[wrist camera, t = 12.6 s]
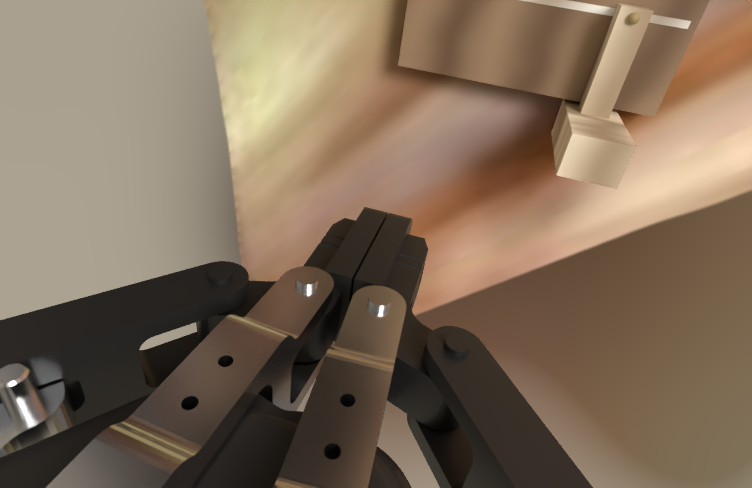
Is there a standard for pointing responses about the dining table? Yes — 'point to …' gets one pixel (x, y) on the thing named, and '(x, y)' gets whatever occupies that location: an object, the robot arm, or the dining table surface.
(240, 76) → the dining table surface
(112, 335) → the robot arm
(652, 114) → the board
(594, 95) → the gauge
